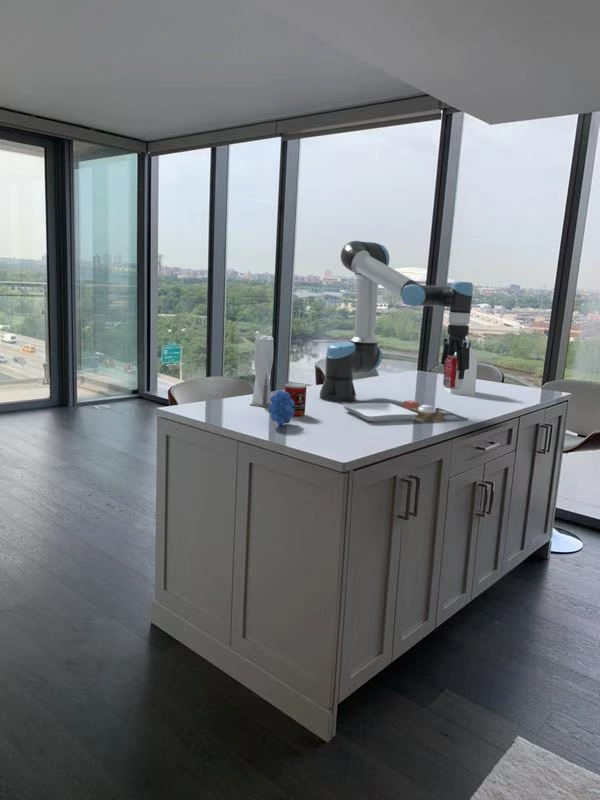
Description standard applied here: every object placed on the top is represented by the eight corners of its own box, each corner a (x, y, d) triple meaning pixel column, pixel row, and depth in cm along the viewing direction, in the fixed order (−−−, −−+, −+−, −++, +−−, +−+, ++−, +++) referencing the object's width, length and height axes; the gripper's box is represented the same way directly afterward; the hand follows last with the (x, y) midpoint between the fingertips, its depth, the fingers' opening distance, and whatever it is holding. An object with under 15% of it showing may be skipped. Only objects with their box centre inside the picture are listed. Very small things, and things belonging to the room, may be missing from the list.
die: (410, 413, 237) (411, 402, 236) (403, 411, 240) (403, 400, 239) (417, 412, 239) (418, 402, 239) (410, 410, 242) (411, 400, 242)
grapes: (277, 430, 199) (279, 393, 196) (263, 426, 203) (264, 390, 201) (302, 425, 207) (304, 390, 205) (287, 421, 212) (289, 387, 209)
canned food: (289, 417, 218) (291, 386, 216) (280, 412, 225) (281, 383, 223) (308, 416, 222) (310, 386, 220) (298, 411, 229) (300, 382, 227)
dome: (423, 416, 225) (424, 408, 224) (414, 412, 231) (415, 404, 230) (438, 416, 227) (439, 407, 227) (429, 412, 233) (430, 404, 232)
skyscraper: (246, 404, 235) (249, 331, 230) (256, 401, 243) (259, 330, 237) (265, 407, 232) (269, 333, 227) (275, 404, 239) (279, 332, 234)
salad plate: (340, 412, 234) (341, 403, 233) (389, 410, 242) (390, 401, 241) (367, 425, 215) (367, 415, 214) (418, 423, 223) (419, 413, 222)
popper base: (422, 421, 224) (423, 413, 223) (409, 416, 232) (410, 408, 231) (443, 420, 227) (444, 412, 226) (430, 415, 235) (430, 407, 234)
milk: (475, 395, 285) (481, 339, 280) (450, 393, 285) (456, 337, 280) (468, 390, 297) (474, 336, 292) (444, 389, 297) (450, 335, 292)
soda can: (463, 387, 232) (467, 356, 230) (459, 390, 226) (463, 358, 224) (444, 385, 235) (448, 354, 233) (440, 387, 229) (444, 356, 227)
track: (445, 421, 226) (445, 419, 226) (417, 409, 244) (417, 408, 244) (468, 420, 230) (468, 418, 230) (438, 409, 248) (439, 407, 248)
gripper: (484, 327, 218) (477, 390, 223) (451, 322, 237) (445, 381, 241) (466, 326, 216) (459, 390, 220) (435, 321, 234) (429, 381, 238)
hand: (452, 385), depth 230 cm, fingers closed on soda can, 7 cm apart
